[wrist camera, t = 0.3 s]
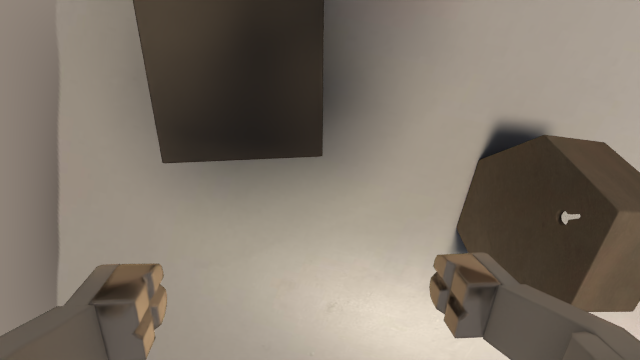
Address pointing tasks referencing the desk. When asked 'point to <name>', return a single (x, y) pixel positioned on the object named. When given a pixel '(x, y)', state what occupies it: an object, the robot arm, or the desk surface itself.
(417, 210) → the desk surface
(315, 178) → the desk surface
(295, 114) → the brown box lid
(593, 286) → the brown hexagonal block
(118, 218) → the desk surface
